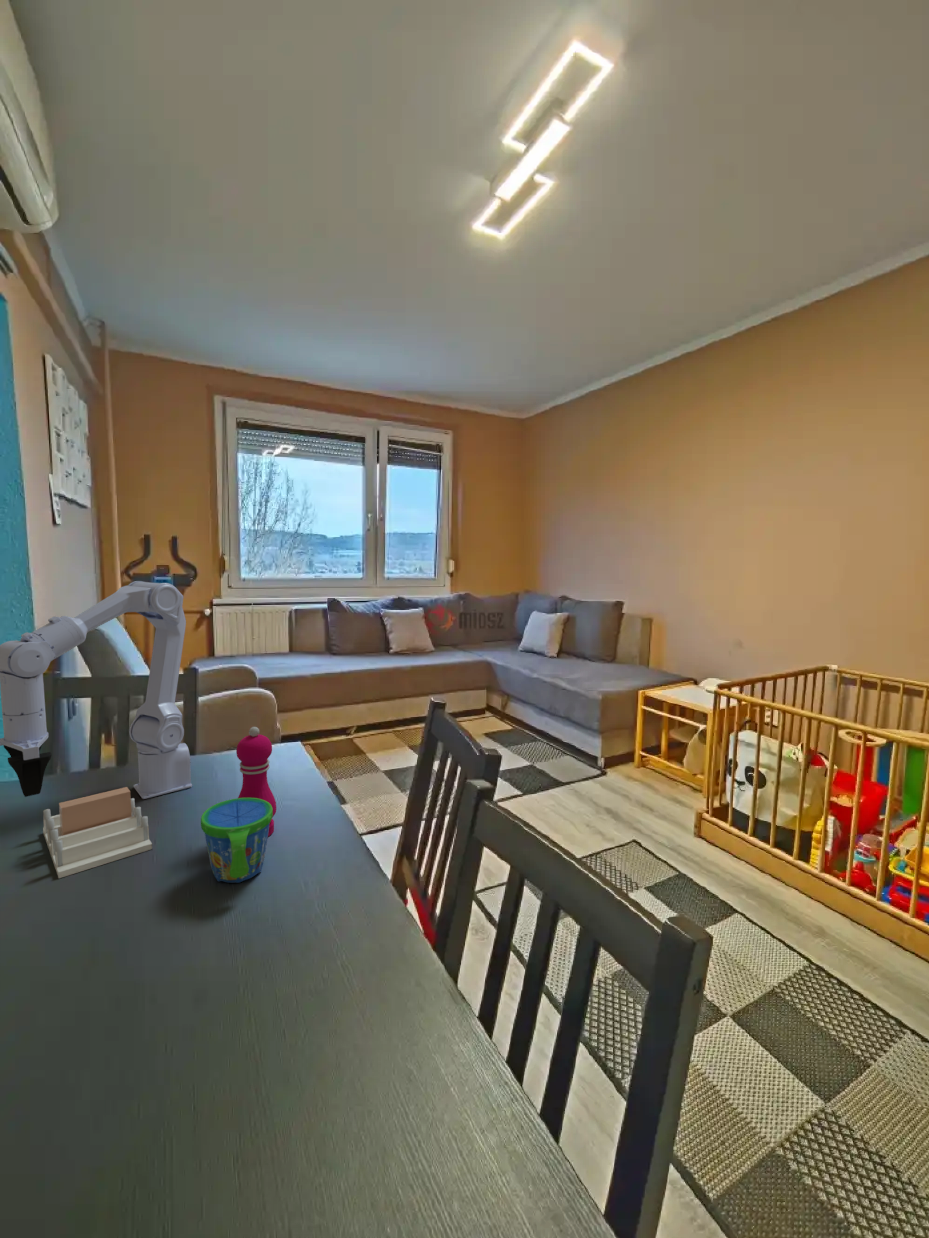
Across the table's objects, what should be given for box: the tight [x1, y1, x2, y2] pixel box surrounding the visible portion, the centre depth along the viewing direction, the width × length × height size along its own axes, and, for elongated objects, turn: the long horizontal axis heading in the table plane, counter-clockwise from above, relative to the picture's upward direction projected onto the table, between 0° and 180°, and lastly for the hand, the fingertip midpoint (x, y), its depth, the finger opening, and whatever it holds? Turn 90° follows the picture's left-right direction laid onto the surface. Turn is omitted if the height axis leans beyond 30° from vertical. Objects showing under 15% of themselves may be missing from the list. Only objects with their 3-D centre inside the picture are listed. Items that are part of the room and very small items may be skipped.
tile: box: [58, 786, 132, 836], centre depth 95 cm, size 10×2×7 cm, turn 133°
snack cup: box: [200, 797, 274, 884], centre depth 87 cm, size 16×10×10 cm
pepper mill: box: [235, 726, 277, 838], centre depth 99 cm, size 7×7×20 cm
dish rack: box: [42, 797, 153, 879], centre depth 95 cm, size 13×18×5 cm
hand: (29, 787), depth 95 cm, fingers open, 7 cm apart
